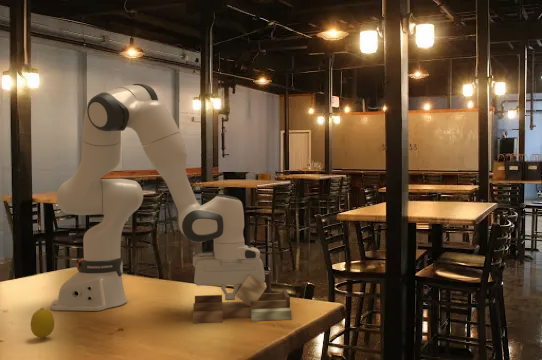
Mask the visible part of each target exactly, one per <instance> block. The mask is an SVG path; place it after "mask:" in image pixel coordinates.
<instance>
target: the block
mask: <svg viewBox="0 0 542 360" xmlns="http://www.w3.org/2000/svg"><path fill="white" fill-rule="evenodd" d="M266 288H267V287H266V283H265V282H263V283H261V282H259V281H258V280H256V279H255V278H253V277H252V276H250V275H249V276H248V277H247V279H246V280H245V281H244V283H243V284H239V288H238V290H237V292H236V293H235V298H238V299H239V300H240V301H241V302H245V303H246V304H248V305H249V306H250V307H251V301H257V300H258V299H259V298H260V296H261V295H262V293H263V292H264V290H265V289H266Z"/></svg>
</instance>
